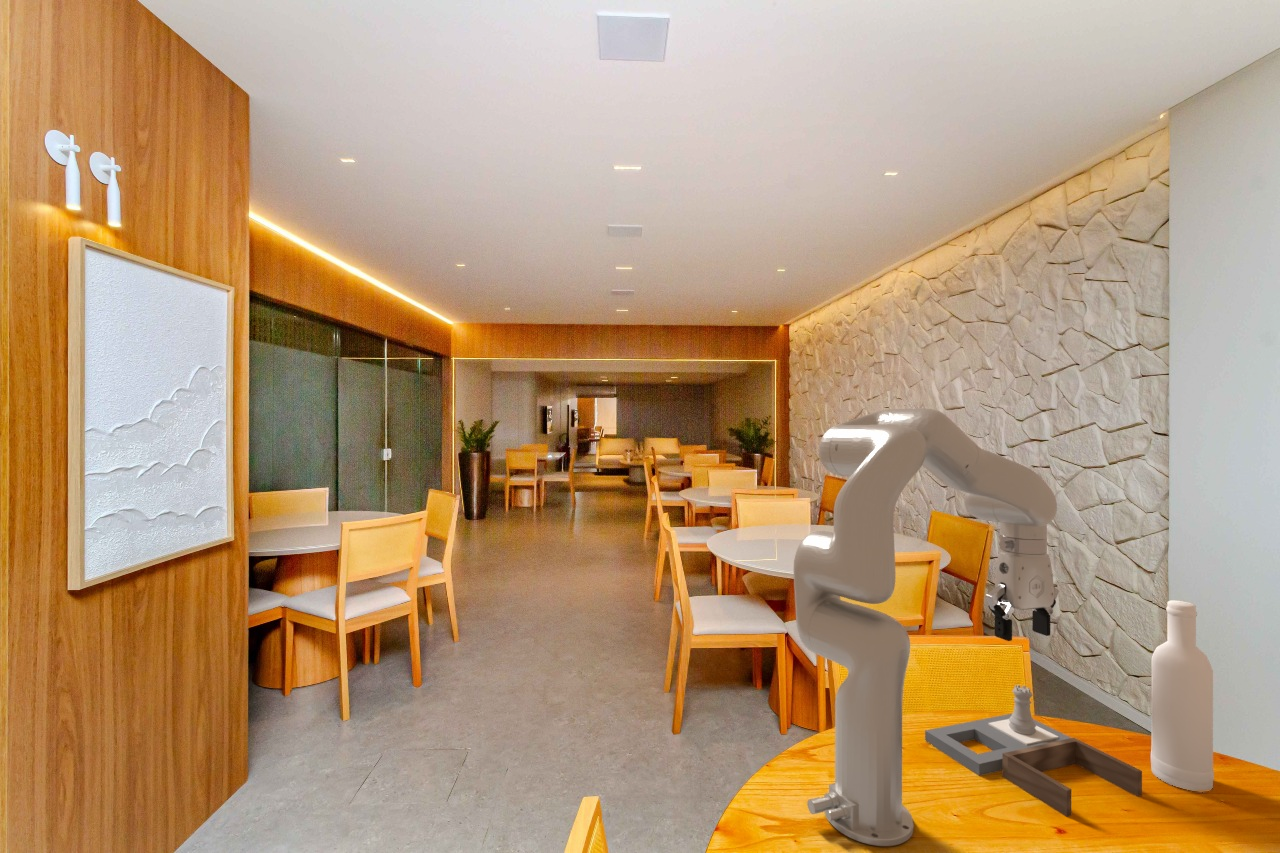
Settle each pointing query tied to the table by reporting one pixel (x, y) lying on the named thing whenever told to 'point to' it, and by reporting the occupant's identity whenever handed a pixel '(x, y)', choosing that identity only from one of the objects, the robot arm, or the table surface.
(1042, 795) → the walnut pen
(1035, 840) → the table surface
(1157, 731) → the bottle
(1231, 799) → the table surface
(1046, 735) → the hole board
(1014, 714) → the rook chess piece
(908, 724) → the table surface
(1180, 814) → the table surface
